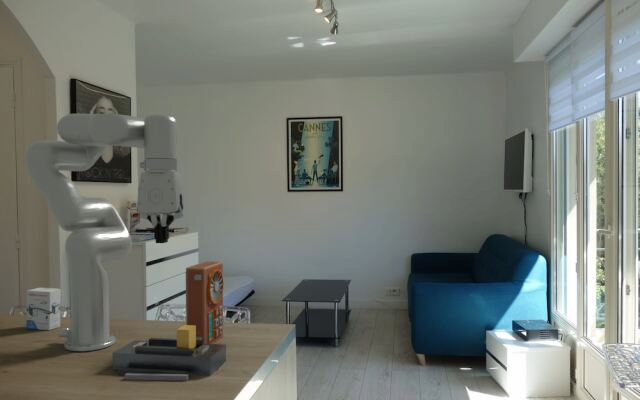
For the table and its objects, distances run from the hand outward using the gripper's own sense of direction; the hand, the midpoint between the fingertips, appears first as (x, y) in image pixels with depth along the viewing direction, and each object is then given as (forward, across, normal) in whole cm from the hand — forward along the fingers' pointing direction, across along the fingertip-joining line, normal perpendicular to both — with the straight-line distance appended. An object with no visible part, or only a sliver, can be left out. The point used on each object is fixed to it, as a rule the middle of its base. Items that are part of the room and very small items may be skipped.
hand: (161, 242), depth 123 cm
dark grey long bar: (+29, +2, -9) cm, 31 cm away
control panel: (+29, +4, +17) cm, 34 cm away
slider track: (+29, +3, -2) cm, 29 cm away
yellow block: (+25, +7, -2) cm, 26 cm away
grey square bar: (+29, +4, -11) cm, 31 cm away
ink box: (+29, -51, +24) cm, 64 cm away
